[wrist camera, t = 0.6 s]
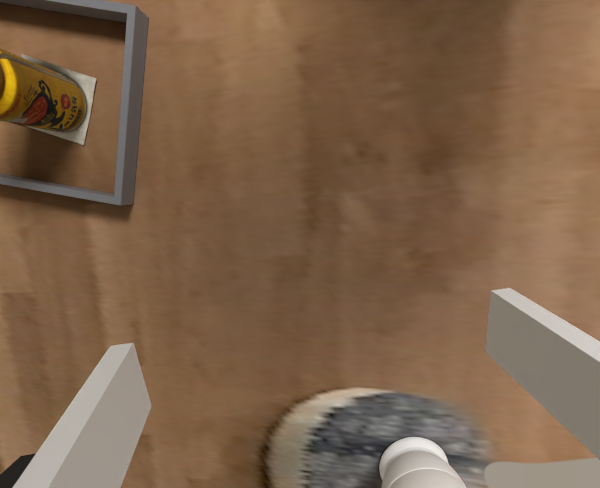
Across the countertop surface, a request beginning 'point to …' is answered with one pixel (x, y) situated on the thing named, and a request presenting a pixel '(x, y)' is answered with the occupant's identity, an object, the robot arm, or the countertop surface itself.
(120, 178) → the frame
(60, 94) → the condiment
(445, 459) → the jar
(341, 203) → the countertop surface
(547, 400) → the robot arm
